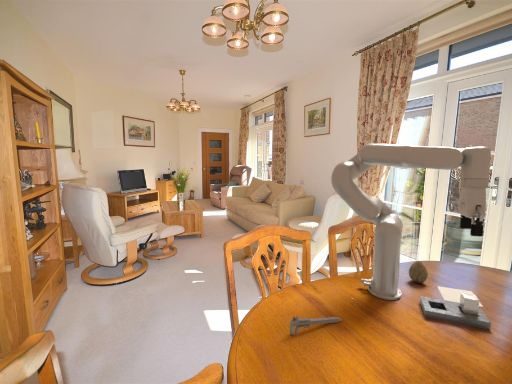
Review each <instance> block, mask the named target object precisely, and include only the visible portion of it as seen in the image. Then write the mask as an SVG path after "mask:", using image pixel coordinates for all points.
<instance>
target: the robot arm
mask: <svg viewBox="0 0 512 384" xmlns="http://www.w3.org/2000/svg"><path fill="white" fill-rule="evenodd" d="M491 156H492V150H491V148H490V147H489V146H472V147H471V146H469V147H465V148H463V147H462V148H460V147H459V148H456V147H452V146H424V145H423V146H421V145H411V144H398V143H397V144H396V143H395V144H393V143H390V144H389V143H366V144H364V145H362V146H361V147H360V148H359V150H358V153H357V154H356V155H354V156H353V157H351V158H350V159H348V160H347V161H342V162H339V163H338V164H336V165H335V166H334V168H333V171H332V174H331V176H330V177H331V180H330V181H331V186H332V188H333V190H334V192H335V193H336V194H337V195H338V196H339V197H340V199H341V200H342V201H344V202H345V204H347V206H348V207H349V208H350V209H351V210H352V211H353V212H354V213H355V214H356V215H357V216H358V217H359V218H360V219H361V220H362V221H365V222H372V223H373V224H374V225H375V226H374V231H373V233H374V235H373V237H374V238H373V241H374V244H373V247H374V248H373V263H372V264H373V265H372V266H373V267H372V268H373V271H372V277H371V278H369V279H367V278H362V277H361V279H360V283H361V284H363V286H365V287H367V290H368V292H369V293H370V294H371V295H372V296H374V297H376V298H379V299H382V300H388V301H394V300H395V301H396V300H399V299H401V297H402V296H403V293H402V290H401V289H400V288H399V276H400V264H401V263H400V261H401V260H400V259H401V247H402V246H401V245H402V244H401V243H402V234H403V229H404V228H403V227H404V224H403V221H402V219H401V218H400V217H399V216H398V215H397V213H395V212H394V211H393V210H392V209H391V208H390V207H389V206H388V205H387V204H385V202H383V200H381V199H380V198H378V197H377V196H373V195H368V194H367V193H366V192H365V191H364V190H363V189H362V188H361V187H360V186H358V184H356V183H355V182H354V180H355V179H358V177H360V176H362V175H363V174H364V173H366V172H367V171H368V170H370V169H371V168H372V167H374V166H381V167H382V166H383V167H395V168H396V167H399V168H416V169H417V168H419V169H430V170H431V169H432V170H445V171H447V170H448V171H451V170H455V169H457V168H460V178H459V188H460V193H459V197H458V198H459V199H458V205H457V206H458V207H457V211H458V213H459V214H460V218H459V229H463V230H464V229H465V230H466V229H468V230H470V233H469V235H470V236H471V237H483V236H484V226H485V218H486V211H487V191H486V190H487V189H489V185H490V183H489V182H490V169H491V158H492V157H491Z"/></svg>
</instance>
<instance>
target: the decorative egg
mask: <svg viewBox="0 0 512 384" xmlns="http://www.w3.org/2000/svg"><path fill="white" fill-rule="evenodd" d="M408 275H409V278H410V279H411V281H413V282H414V283H415V284H416V283H417V284H423V283H425V282H426V280H427V279H428V275H429V273H428V270H427V267H426V266H425V265H424V263H423V262H421V260H417V261H415V262H413V263H412V264H411V265H410V267H409V269H408Z"/></svg>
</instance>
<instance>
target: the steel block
mask: <svg viewBox="0 0 512 384" xmlns="http://www.w3.org/2000/svg"><path fill="white" fill-rule="evenodd" d="M479 302H480V299H479V298H478V296H477V295H476V294H475V293H473V294H468V293H462V292H461V296H460V306H459V309H460V311H461V312H462V314H468V315H473V316H478V309H479Z"/></svg>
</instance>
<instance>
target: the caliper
mask: <svg viewBox="0 0 512 384" xmlns="http://www.w3.org/2000/svg"><path fill="white" fill-rule="evenodd" d="M342 321H343V319H342V318H341V317H339V316H332V317H331V316H330V317H320V318H310V317H307V318H306V317H305V318H304V317H303V318H299V316H298V315H296V316H292V319H291V320H290V324H289V335H290V336H292V335H294V334H295V335H296V334H297V335H298V334H299V332H300V330H301V328H304V329H305V328H310V326H313V325H323V324H324V325H325V324H335V323H339V322H342Z"/></svg>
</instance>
